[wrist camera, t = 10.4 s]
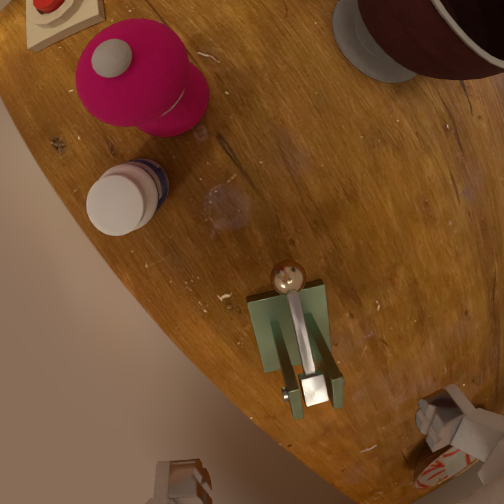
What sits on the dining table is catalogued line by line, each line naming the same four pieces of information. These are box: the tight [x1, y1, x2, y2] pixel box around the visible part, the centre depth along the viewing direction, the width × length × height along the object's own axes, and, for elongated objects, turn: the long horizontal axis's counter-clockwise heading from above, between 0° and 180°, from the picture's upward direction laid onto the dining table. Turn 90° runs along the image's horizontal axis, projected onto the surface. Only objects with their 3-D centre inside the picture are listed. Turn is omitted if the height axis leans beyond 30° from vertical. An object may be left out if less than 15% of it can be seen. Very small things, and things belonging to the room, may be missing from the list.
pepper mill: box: [76, 19, 209, 137], centre depth 19 cm, size 7×7×20 cm
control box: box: [26, 0, 105, 52], centre depth 20 cm, size 9×8×4 cm
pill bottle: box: [86, 158, 169, 236], centre depth 26 cm, size 6×6×10 cm
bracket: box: [246, 279, 345, 420], centre depth 33 cm, size 11×9×13 cm
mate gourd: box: [332, 0, 504, 83], centre depth 17 cm, size 16×14×20 cm
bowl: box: [413, 444, 477, 490], centre depth 53 cm, size 25×25×8 cm
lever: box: [270, 260, 329, 406], centre depth 29 cm, size 14×3×3 cm
